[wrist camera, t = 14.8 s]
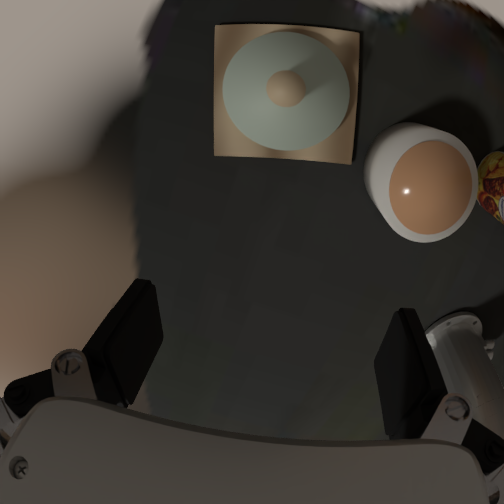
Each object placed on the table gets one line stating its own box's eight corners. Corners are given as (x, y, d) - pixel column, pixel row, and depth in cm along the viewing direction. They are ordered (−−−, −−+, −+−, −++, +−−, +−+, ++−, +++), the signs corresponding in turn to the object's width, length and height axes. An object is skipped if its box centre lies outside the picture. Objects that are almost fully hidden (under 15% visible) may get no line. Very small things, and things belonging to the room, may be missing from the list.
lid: (349, 40, 23) (365, 27, 17) (343, 153, 29) (356, 169, 23) (225, 33, 24) (209, 19, 18) (224, 146, 30) (208, 159, 24)
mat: (358, 34, 23) (359, 32, 22) (350, 163, 30) (351, 164, 29) (216, 26, 24) (215, 25, 23) (215, 154, 31) (214, 155, 30)
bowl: (458, 133, 26) (488, 144, 20) (440, 222, 31) (463, 248, 26) (368, 113, 27) (387, 119, 21) (356, 213, 32) (369, 239, 27)
